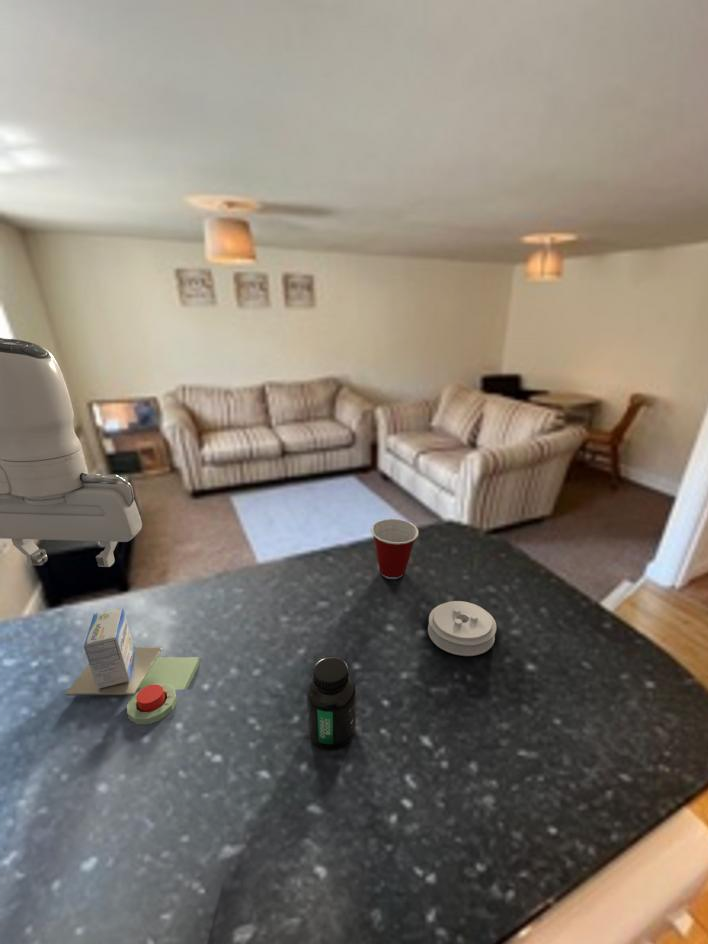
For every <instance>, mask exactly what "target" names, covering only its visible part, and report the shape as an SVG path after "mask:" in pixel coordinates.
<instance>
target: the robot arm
mask: <svg viewBox="0 0 708 944" xmlns="http://www.w3.org/2000/svg"><path fill="white" fill-rule="evenodd" d="M71 400H72V399H71V395H70V393H69V389H68V385H67V382H66V380H65V377H64V375H63V372H62V370H61V368H60V365H59V364H58V362H57V360H56V359H55V357H54V355H53V354H52V353H51V352H50V350H48V349H46V348H45V347H43V346H41V345H39V344H36V343H34V342H30V341H26V340H21V339H17V338H16V339H15V338H3V337H0V539H2V540H3V539H4V540H5V539H6V540H7V539H8V540H11V542H12V544H13V546H14V547H15V548H16V549H17V550H18V551H19V552H20V553H22V554H23V555H24V556H25V557H26V560H27V563H28V565H29V566H42V565H44V564H45V563H46V562H47V561H48V559H49V558H48V556H47V551H46V548H45V549H44V548H39V546H37V544H35V542H34V541H33V540H37V541H39V540H42V541H46V540H47V541H74V542H75V541H76V542H77V541H79V542H99V546H100V548H104V549H103V550H102V551H100V552H99V554H97V555H96V556H95V560H96V562H97V566H98V567H102V568H110V567H112V566H113V565H114V564H115V561H116V559H115V556H114V555H115V554H114V551H115V549H116V547H117V545H118V543H128V542H130V541H131V540H132V539H134V538H135V537H136V536H137V535H138V534H139V532H140V531H141V530H142V528H143V521H142V519H141V518H142V517H141V515H140V512H139V509H138V505H137V503H136V500H135V496H134V490H133V486H132V483H130V482H128V481H127V480H125V479H123V478H122V477H120V476H119V475H117V474H100V473H89V470H88V466H87V462H86V458H85V454H84V449H83V445H82V443H81V440H80V439H79V437H78V435H77V434H76V431H75V427H74V422H75V421H74V420H75V412H74V407H73V404H72V401H71Z"/></svg>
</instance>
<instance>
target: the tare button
mask: <svg viewBox="0 0 708 944" xmlns="http://www.w3.org/2000/svg"><path fill="white" fill-rule="evenodd" d="M137 692H138V694H137V696H136V700H137V703H138V710H139V711H141V712H151V711H154V710H156V709H158V708H159V707H161V706H162V705H163V704H164V703H165V701H166V697H165V694H164V690H163V687H162V686H160V685H156V684H154V685H149V686H146V687H144V688H143V689H140V690H138V691H137Z"/></svg>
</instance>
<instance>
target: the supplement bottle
mask: <svg viewBox="0 0 708 944" xmlns="http://www.w3.org/2000/svg"><path fill="white" fill-rule="evenodd" d="M356 694H357V689H356V683H355V682H354V679H353V678H352V677H351V676H350V674H349V667H348V665H347V663H346V662H345V661H344V660H343V659H341V658H338V657H334V656H333V657H326V658H323V659H320V660H319V661H317V663H315V665H314V667H313V669H312V678H311V680H310V681H309V682H308V685H307V688H306V705H307V706H306V707H307V722H308V734H309V737H310V738H309V739H310V740H311V742H312V743H313V744H314V745H315V746H316V747H317V748H320V749H322V750H325V751H336V750H339V749H342V748H344V747H345V746H347V745H348V744H349V743H350V742H351V741H352V740H353V738H354V736H355V733H356V723H357V722H356V720H357V719H356V717H357V716H356V713H357V712H356V711H357V709H356V708H357V707H356V706H357V701H356V699H357V697H356V696H357V695H356Z"/></svg>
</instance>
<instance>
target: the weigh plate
mask: <svg viewBox="0 0 708 944" xmlns="http://www.w3.org/2000/svg"><path fill="white" fill-rule="evenodd" d="M162 650H163V647H160V646H158V647H157V646H155V647H153V646H151V647H150V646H149V647H147V646H145V647H143V646H142V647H141V646H138V647H137V646H134V654H133V660H132V667H131V673H130V680H129V681H128V682H123V683H120V684H116V685H112V686H108V687H103V688H99V689H98V688H97V686H96V683H95V680H94V677H93V674H92V671H91V668H90V665H89V663H88V664H87V666H86V667H85V668H84V669H83V670H82V672H81V673H80V675H78V676H77V678H76V680H74V682H73V683H72V685H70V687H69V688H68V690H67V691H66V692H65V696H133V695H135V694H136V693H137V692H138V691H139V690H138V688H139V686H140V685H141V683H142V681H143V680H144V678H145V677H146V675H147V673H148V672H149V670H150V668H151V667H152V665H153V663H154V662H155V660H156V658H157V657H159V655H160V654H161V652H162Z"/></svg>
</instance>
